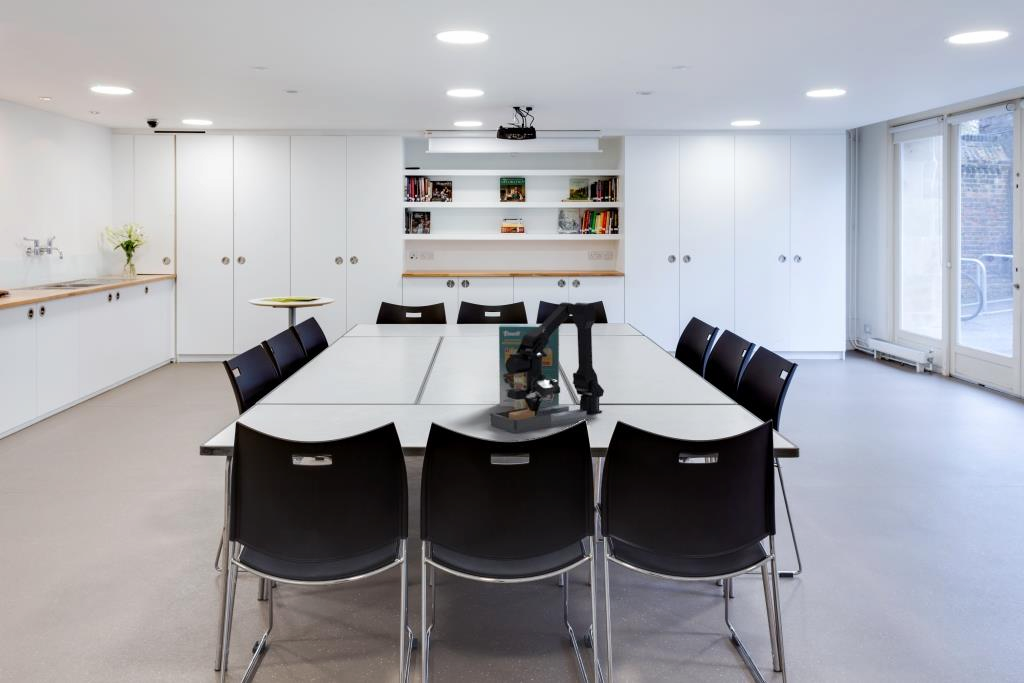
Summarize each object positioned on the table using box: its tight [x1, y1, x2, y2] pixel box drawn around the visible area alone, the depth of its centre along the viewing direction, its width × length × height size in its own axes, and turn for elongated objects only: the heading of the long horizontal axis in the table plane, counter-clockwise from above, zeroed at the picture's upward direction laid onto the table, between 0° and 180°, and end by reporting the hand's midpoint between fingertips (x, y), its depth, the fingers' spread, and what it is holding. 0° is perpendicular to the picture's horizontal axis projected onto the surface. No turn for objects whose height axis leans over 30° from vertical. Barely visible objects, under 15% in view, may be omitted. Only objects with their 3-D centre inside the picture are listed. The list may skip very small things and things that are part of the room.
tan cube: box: [509, 411, 525, 420], centre depth 283 cm, size 4×4×4 cm
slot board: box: [535, 404, 588, 428], centre depth 293 cm, size 16×14×3 cm
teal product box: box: [498, 324, 560, 408], centre depth 315 cm, size 22×6×30 cm, turn 84°
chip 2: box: [519, 409, 535, 419], centre depth 285 cm, size 4×4×4 cm
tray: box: [490, 408, 552, 435], centre depth 284 cm, size 15×14×4 cm
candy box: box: [513, 372, 532, 410], centre depth 309 cm, size 9×4×15 cm, turn 150°
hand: (534, 416), depth 287 cm, fingers closed
